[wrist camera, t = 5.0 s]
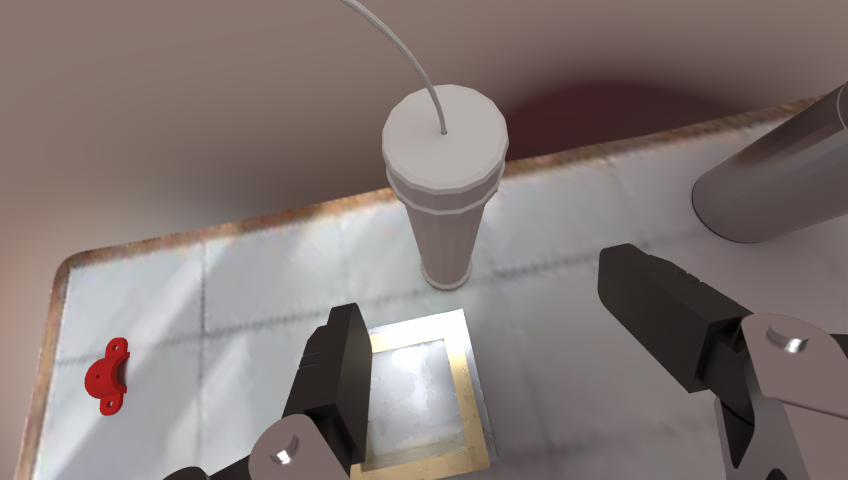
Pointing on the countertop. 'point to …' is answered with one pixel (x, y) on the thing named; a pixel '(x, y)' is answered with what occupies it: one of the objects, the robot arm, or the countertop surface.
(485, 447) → the socket
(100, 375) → the pipe clamp
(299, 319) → the countertop surface
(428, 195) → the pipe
